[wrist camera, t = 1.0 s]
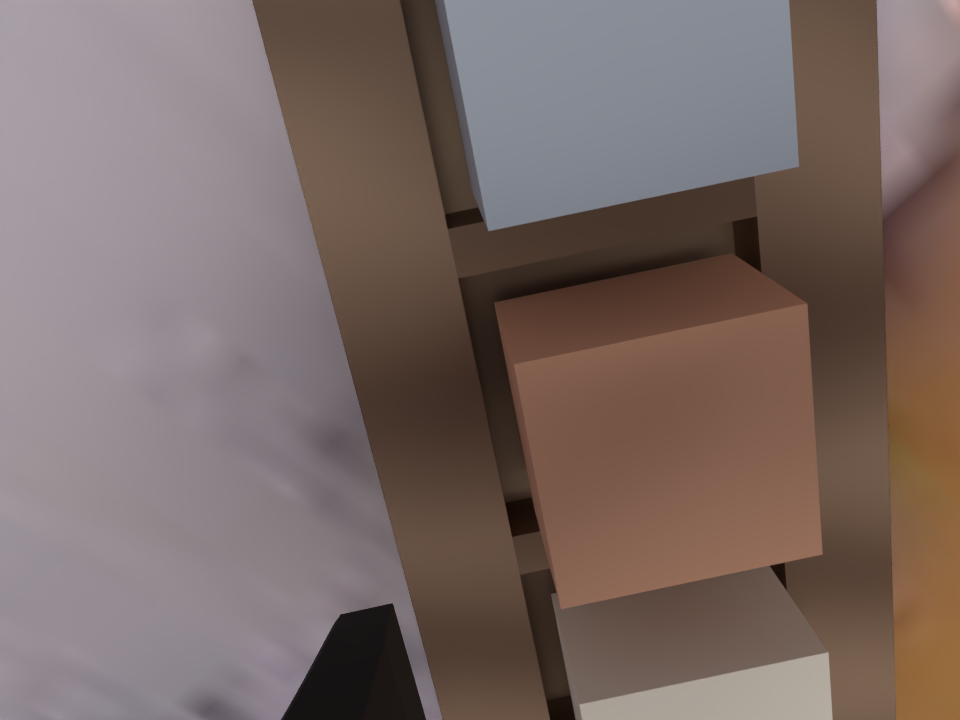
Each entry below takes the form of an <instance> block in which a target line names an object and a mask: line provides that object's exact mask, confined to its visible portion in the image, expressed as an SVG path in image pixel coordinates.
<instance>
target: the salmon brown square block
mask: <svg viewBox="0 0 960 720" xmlns="http://www.w3.org/2000/svg"><path fill="white" fill-rule="evenodd" d="M494 305H495V310H496V315H497V320H498V325H499V331H500V336H501V341H502V346H503V351H504V356H505V361H506V366H507V371H508V377H509V382H510V387H511V392H512V397H513V402H514V407H515V412H516V418H517V423H518V428H519V433H520V438H521V443H522V448H523V453H524V458H525V464H526V469H527V474H528V479H529V484H530V489H531V494H532V499H533V504H534V510H535V514H536V517H537V521H538V525H539V529H540V532H541V536H542V540H543V544H544V547H545V551H546V555H547V559H548V562H549V566H550V570H551V574H552V577H553V581H554V585H555V589H556V592H557V596H558V600H559V604H560V608H561V609H565V608H570V607H575V606H579V605H584V604H589V603H594V602H598V601H603V600H608V599H613V598H617V597H622V596H627V595H632V594H636V593H641V592H646V591H651V590H656V589H660V588H665V587H670V586H675V585H679V584H684V583H689V582H694V581H698V580H703V579H708V578H713V577H717V576H722V575H727V574H732V573H737V572H741V571H746V570H751V569H756V568H760V567H765V566H770V565H775V564H779V563H784V562H789V561H794V560H799V559H803V558H808V557H813V556H818V555H822V554H823V553H822V536H821V520H820V503H819V487H818V470H817V454H816V437H815V421H814V404H813V388H812V371H811V355H810V338H809V322H808V305H807V303H806V302H805V301H803V300H802V299H800V298H799V297H797V296H796V295H794V294H793V293H791V292H790V291H788V290H787V289H785V288H784V287H782V286H781V285H779V284H778V283H776V282H775V281H773V280H772V279H770V278H768V277H767V276H765V275H764V274H762V273H761V272H759V271H758V270H756V269H755V268H753V267H752V266H750V265H749V264H747V263H746V262H744V261H743V260H741V259H740V258H738V257H737V256H735V255H734V254H732V253H730V254H725V255H720V256H715V257H710V258H706V259H701V260H696V261H691V262H686V263H682V264H677V265H672V266H667V267H662V268H658V269H653V270H648V271H643V272H638V273H634V274H629V275H624V276H619V277H614V278H610V279H605V280H600V281H595V282H590V283H586V284H581V285H576V286H571V287H566V288H562V289H557V290H552V291H547V292H542V293H538V294H533V295H528V296H523V297H518V298H513V299H509V300H504V301H499V302H494Z"/></svg>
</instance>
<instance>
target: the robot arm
mask: <svg viewBox="0 0 960 720" xmlns="http://www.w3.org/2000/svg"><path fill="white" fill-rule="evenodd" d="M281 720H426V718H425V714H424V711H423V707H422V704H421V700H420V697H419V693H418V690H417V686H416V683H415V679H414V676H413V672H412V669H411V666H410V662H409V659H408V655H407V652H406V648H405V645H404V641H403V638H402V634H401V631H400V627H399V624H398V620H397V617H396V613H395V610H394V606H393V603H392V604H387V605H382V606H378V607H373V608H369V609H364V610H359V611H355V612H350V613H346V614H341V615H340V616H339V618H338V619H337V620H336V622H335V623H334V625H333V627H332V628H331V630H330V632H329V634H328V636H327V638H326V640H325V641H324V643H323V645H322V647H321V649H320V651H319V653H318V655H317V656H316V658H315V660H314V662H313V664H312V666H311V668H310V669H309V671H308V673H307V675H306V677H305V679H304V680H303V682H302V684H301V686H300V688H299V689H298V691H297V693H296V695H295V697H294V698H293V700H292V702H291V704H290V705H289V707H288V709H287V711H286V712H285V714H284V716H283V717H282V719H281Z"/></svg>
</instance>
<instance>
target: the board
mask: <svg viewBox="0 0 960 720" xmlns="http://www.w3.org/2000/svg"><path fill="white" fill-rule="evenodd" d="M252 1H253V5H254V8H255V12H256V16H257V20H258V23H259V27H260V31H261V35H262V39H263V42H264V46H265V50H266V54H267V57H268V61H269V65H270V69H271V73H272V76H273V80H274V84H275V88H276V91H277V95H278V99H279V103H280V106H281V110H282V114H283V118H284V122H285V125H286V129H287V133H288V137H289V140H290V144H291V148H292V152H293V155H294V159H295V163H296V167H297V171H298V174H299V178H300V182H301V186H302V189H303V193H304V197H305V201H306V205H307V208H308V212H309V216H310V220H311V223H312V227H313V231H314V235H315V238H316V242H317V246H318V250H319V254H320V257H321V261H322V265H323V269H324V272H325V276H326V280H327V284H328V288H329V291H330V295H331V299H332V303H333V306H334V310H335V314H336V318H337V321H338V325H339V329H340V333H341V337H342V340H343V344H344V348H345V352H346V355H347V359H348V363H349V367H350V370H351V374H352V378H353V382H354V386H355V389H356V393H357V397H358V401H359V404H360V408H361V412H362V416H363V420H364V423H365V427H366V431H367V435H368V438H369V442H370V446H371V450H372V453H373V457H374V461H375V465H376V469H377V472H378V476H379V480H380V484H381V487H382V491H383V495H384V499H385V502H386V506H387V510H388V514H389V518H390V521H391V525H392V529H393V533H394V536H395V540H396V544H397V548H398V552H399V555H400V559H401V563H402V567H403V570H404V574H405V578H406V582H407V585H408V589H409V593H410V597H411V601H412V604H413V608H414V612H415V616H416V619H417V623H418V627H419V631H420V635H421V638H422V642H423V646H424V650H425V653H426V657H427V661H428V665H429V668H430V672H431V676H432V680H433V684H434V687H435V691H436V695H437V699H438V702H439V706H440V710H441V714H442V717H443V720H576V719H575V714H574V709H573V704H572V699H571V694H570V689H569V683H568V678H567V673H566V668H565V663H564V658H563V653H562V648H561V643H560V637H559V632H558V627H557V622H556V617H555V612H554V607H553V602H552V596H551V594H553V593H557V592H556V589H555V585H554V581H553V577H552V574H551V570H550V566H549V562H548V559H547V555H546V551H545V547H544V544H543V540H542V536H541V532H540V529H539V525H538V521H537V517H536V514H535V510H534V504H533V499H532V494H531V489H530V484H529V479H528V474H527V469H526V464H525V458H524V453H523V448H522V443H521V438H520V433H519V428H518V423H517V418H516V412H515V407H514V402H513V397H512V392H511V387H510V382H509V377H508V371H507V366H506V361H505V356H504V351H503V346H502V341H501V336H500V331H499V325H498V320H497V315H496V310H495V305H494V302H499V301H504V300H509V299H513V298H518V297H523V296H528V295H533V294H538V293H542V292H547V291H552V290H557V289H562V288H566V287H571V286H576V285H581V284H586V283H590V282H595V281H600V280H605V279H610V278H614V277H619V276H624V275H629V274H634V273H638V272H643V271H648V270H653V269H658V268H662V267H667V266H672V265H677V264H682V263H686V262H691V261H696V260H701V259H706V258H710V257H715V256H720V255H725V254H730V253H732V254H734V255H735V256H737V257H738V258H740V259H741V260H743V261H744V262H746V263H747V264H749V265H750V266H752V267H753V268H755V269H756V270H758V271H759V272H761V273H762V274H764V275H765V276H767V277H768V278H770V279H772V280H773V281H775V282H776V283H778V284H779V285H781V286H782V287H784V288H785V289H787V290H788V291H790V292H791V293H793V294H794V295H796V296H797V297H799V298H800V299H802V300H803V301H805V302H806V303H807V305H808V322H809V338H810V355H811V371H812V388H813V404H814V421H815V437H816V454H817V470H818V487H819V503H820V520H821V536H822V553H823V554H822V555H818V556H813V557H808V558H803V559H799V560H794V561H789V562H784V563H779V564H775V565H770V567H771V569H772V570H773V572H774V573H775V575H776V576H777V578H778V579H779V581H780V582H781V583H782V585H783V586H784V588H785V589H786V591H787V592H788V594H789V595H790V597H791V598H792V600H793V601H794V602H795V604H796V605H797V607H798V608H799V610H800V611H801V613H802V614H803V616H804V617H805V619H806V620H807V621H808V623H809V624H810V626H811V627H812V629H813V630H814V632H815V633H816V635H817V636H818V638H819V639H820V640H821V642H822V643H823V645H824V646H825V648H826V649H827V651H828V652H829V668H830V685H831V701H832V718H833V720H896V700H895V664H894V627H893V590H892V554H891V517H890V481H889V444H888V407H887V371H886V334H885V298H884V261H883V224H882V188H881V151H880V114H879V78H878V41H877V5H876V0H789V8H790V25H791V41H792V58H793V74H794V91H795V107H796V124H797V140H798V157H799V167H795V168H790V169H786V170H781V171H776V172H771V173H766V174H762V175H757V176H752V177H747V178H742V179H737V180H733V181H728V182H723V183H718V184H713V185H709V186H704V187H699V188H694V189H689V190H685V191H680V192H675V193H670V194H665V195H660V196H656V197H651V198H646V199H641V200H636V201H632V202H627V203H622V204H617V205H612V206H608V207H603V208H598V209H593V210H588V211H583V212H579V213H574V214H569V215H564V216H559V217H555V218H550V219H545V220H540V221H535V222H531V223H526V224H521V225H516V226H511V227H506V228H502V229H497V230H492V231H488V229H487V227H486V224H485V222H484V219H483V217H482V215H481V212H480V210H479V207H478V205H477V202H476V200H475V198H474V195H473V193H472V187H471V182H470V177H469V172H468V167H467V162H466V157H465V152H464V146H463V141H462V136H461V131H460V126H459V121H458V116H457V111H456V106H455V100H454V95H453V90H452V85H451V80H450V75H449V70H448V65H447V60H446V54H445V49H444V44H443V39H442V34H441V29H440V24H439V19H438V14H437V8H436V3H435V0H252Z"/></svg>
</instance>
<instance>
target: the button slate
mask: <svg viewBox="0 0 960 720" xmlns="http://www.w3.org/2000/svg"><path fill="white" fill-rule="evenodd" d="M435 3H436V8H437V14H438V19H439V24H440V29H441V34H442V39H443V44H444V49H445V54H446V60H447V65H448V70H449V75H450V80H451V85H452V90H453V95H454V100H455V106H456V111H457V116H458V121H459V126H460V131H461V136H462V141H463V146H464V152H465V157H466V162H467V167H468V172H469V177H470V182H471V187H472V193H473V195H474V198H475V200H476V202H477V205H478V207H479V210H480V212H481V215H482V217H483V219H484V222H485V224H486V227H487V229H488V231H492V230H497V229H502V228H506V227H511V226H516V225H521V224H526V223H531V222H535V221H540V220H545V219H550V218H555V217H559V216H564V215H569V214H574V213H579V212H583V211H588V210H593V209H598V208H603V207H608V206H612V205H617V204H622V203H627V202H632V201H636V200H641V199H646V198H651V197H656V196H660V195H665V194H670V193H675V192H680V191H685V190H689V189H694V188H699V187H704V186H709V185H713V184H718V183H723V182H728V181H733V180H737V179H742V178H747V177H752V176H757V175H762V174H766V173H771V172H776V171H781V170H786V169H790V168H795V167H799V157H798V140H797V124H796V107H795V91H794V74H793V58H792V41H791V25H790V8H789V0H435Z"/></svg>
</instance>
